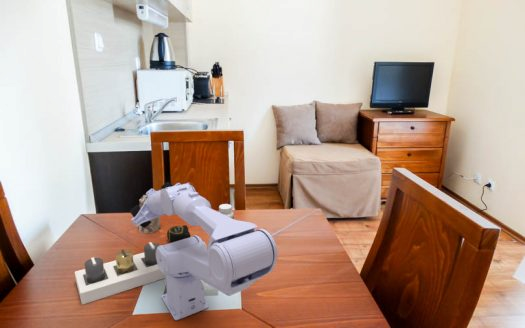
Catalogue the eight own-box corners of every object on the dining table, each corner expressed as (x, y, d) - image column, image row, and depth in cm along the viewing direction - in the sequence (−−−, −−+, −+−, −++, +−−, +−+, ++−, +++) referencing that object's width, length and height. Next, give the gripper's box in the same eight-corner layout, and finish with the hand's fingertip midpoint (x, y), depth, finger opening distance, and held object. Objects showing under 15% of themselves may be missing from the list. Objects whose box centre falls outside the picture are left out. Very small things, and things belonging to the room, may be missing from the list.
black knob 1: (106, 280, 85) (104, 262, 84) (88, 285, 83) (85, 267, 81) (103, 271, 88) (100, 254, 87) (85, 276, 86) (83, 259, 85)
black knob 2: (162, 263, 92) (161, 246, 91) (147, 267, 90) (146, 250, 89) (158, 256, 96) (156, 239, 94) (143, 260, 94) (141, 243, 92)
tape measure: (191, 244, 107) (190, 233, 106) (168, 247, 105) (167, 236, 104) (188, 233, 114) (188, 223, 112) (166, 236, 111) (166, 225, 110)
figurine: (133, 229, 115) (130, 195, 111) (150, 221, 121) (147, 189, 117) (148, 235, 111) (145, 200, 108) (164, 227, 117) (162, 193, 114)
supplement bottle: (216, 230, 116) (216, 203, 113) (232, 228, 117) (232, 202, 114) (218, 238, 111) (217, 210, 108) (234, 236, 112) (234, 209, 109)
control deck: (174, 274, 92) (174, 264, 91) (82, 304, 80) (80, 293, 79) (162, 256, 100) (161, 247, 99) (76, 281, 88) (74, 271, 87)
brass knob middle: (135, 271, 89) (134, 253, 87) (119, 276, 87) (117, 258, 85) (131, 263, 92) (130, 246, 90) (115, 268, 90) (113, 251, 88)
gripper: (178, 170, 85) (161, 177, 96) (128, 208, 77) (116, 211, 88) (195, 193, 86) (176, 198, 97) (148, 232, 79) (133, 233, 90)
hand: (149, 205), depth 93 cm, fingers open, 7 cm apart
